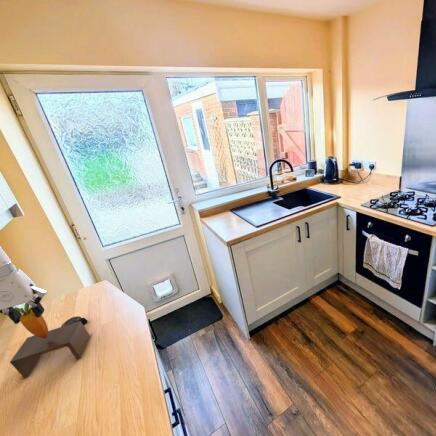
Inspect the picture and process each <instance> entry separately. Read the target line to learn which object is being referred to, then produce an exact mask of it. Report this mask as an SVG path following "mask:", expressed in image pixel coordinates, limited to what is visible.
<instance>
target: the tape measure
mask: <svg viewBox="0 0 436 436" xmlns="http://www.w3.org/2000/svg"><path fill="white" fill-rule="evenodd" d="M79 321H81V322H82V324H83V325H84V326H85V325H86V324H87V323H88V319H87V318H85V317H81V316H72V317H70V318H68V319H67V320H65V321H64V322H63V323H62V324H61V326H60V327H63V326H66V325H69V324H72V323H76V322H79Z"/></svg>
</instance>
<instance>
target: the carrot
mask: <svg viewBox="0 0 436 436" xmlns="http://www.w3.org/2000/svg"><path fill="white" fill-rule="evenodd" d="M31 308H32V306H30V305H29V304H27V303H24V308H23V307H17V306H14V309H16V310H18V311H20V312H21V314H22V316H21V317H20V318H19V319H20V322H19V323H21V325H22V326H23V327H24V328H25V329H26V330H27V331H28V332H29V333H30V334H32V336H34V335H35V336H37V337H40V338H47V336H48V331H49V328H48V324H47V322H46V320H45V318H44V317H43V314H42V315H41V317H36V315H35V314H34V313H33V311H32V310H31Z"/></svg>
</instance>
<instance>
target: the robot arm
mask: <svg viewBox="0 0 436 436" xmlns="http://www.w3.org/2000/svg"><path fill="white" fill-rule="evenodd" d="M47 293H48V290H45V289H43V288H39V287H37V285H36V283H35V282H34V281H33V280H32V279H31V278H30V277H29V276H28V275H27V274H26V272H24V271H23V270H22V269H20V268H17V267H16V266H15V264H14V263H13V261H12V260H11V258H10V257H9V256H8V254H7V253H6V251H4V249H3V247H2V246H1V245H0V314H3V315H4V316H7V317H9V319H10V320H11V321H12V322H13V323H14V325H17V324H19V323H21V322H20V319H19V318H20V317H21V316H22V315H23V313H21V312H20V311H18V310H16V309H14V308H15V307H17V306H19V305H20V306H21V305H25V303H27V304H29V307H32V308H31V310H32V311H33V313H34V314H35V315H36V317H41V315H42V316H43V314H44V312H45V308H44V306H43V304H41V301H42V299H43V298H44V297H45V296H46V294H47Z"/></svg>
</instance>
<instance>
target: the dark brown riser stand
mask: <svg viewBox="0 0 436 436" xmlns="http://www.w3.org/2000/svg"><path fill="white" fill-rule="evenodd" d="M90 338H91V335H90V333H89V332H88V330H87V328H86V326H85V325H83V324H82V322H81V321H79V322H76V323H72V324H69V325H66V326H63V327H61V326H60V327H57V328H53V329H50V330H48V336H47V338H40V337H37V336H35V335H31V336H27V338H26V339H25V340H24V341H23V342H22V345H20V347H19V349H17V351H16V353H15V354H14V355H13V357H12V358H11V359H10V361H9V363H10V365H12V366H13V367H14V369H15V370H16V371H17V372H18V373H19V375H21V376H22V377H23V378H24V379H25V378H27V377H29V376H30V374H31V373H32V371H33V369H34V368H35V366H36V364H38V361H39V359H40V358H41V356H42V355H45V354H47V353H48V354H49V353H51V352H53V351H57V350H60V349H62V348H67V347H68V350H70V352H71V353H72V355H73V356H74V357H75V359H76V360H79V359H82V356H83V354H84V351H85V349H86V347H87V345H88V342H89V341H90Z"/></svg>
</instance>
